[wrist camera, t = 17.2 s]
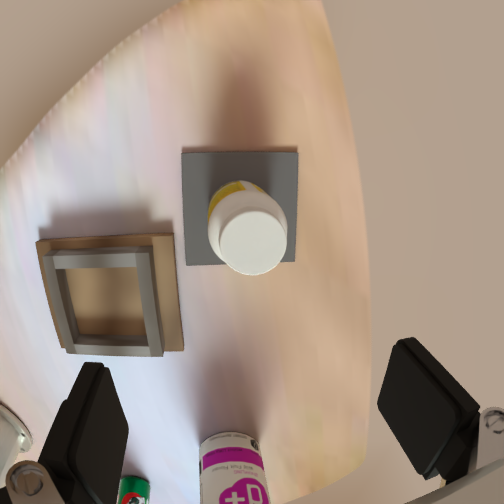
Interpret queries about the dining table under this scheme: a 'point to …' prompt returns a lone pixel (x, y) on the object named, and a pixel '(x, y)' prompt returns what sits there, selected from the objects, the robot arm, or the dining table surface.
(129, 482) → the soda can
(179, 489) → the dining table surface
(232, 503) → the supplement can
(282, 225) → the supplement bottle
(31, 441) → the robot arm
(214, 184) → the mat
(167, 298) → the block
